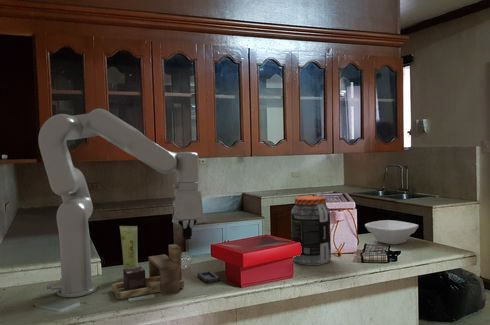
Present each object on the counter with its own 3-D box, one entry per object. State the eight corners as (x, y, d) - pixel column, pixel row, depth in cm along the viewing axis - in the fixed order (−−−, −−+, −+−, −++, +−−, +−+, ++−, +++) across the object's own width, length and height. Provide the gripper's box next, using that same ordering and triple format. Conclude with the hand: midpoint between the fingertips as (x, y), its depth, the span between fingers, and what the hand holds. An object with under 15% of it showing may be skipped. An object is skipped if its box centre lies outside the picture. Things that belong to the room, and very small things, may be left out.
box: (141, 286, 148) (140, 265, 147) (146, 291, 142) (145, 270, 142) (123, 290, 145) (122, 268, 144) (128, 295, 139) (127, 273, 139)
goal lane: (129, 302, 133) (129, 300, 133) (119, 286, 148) (119, 284, 148) (154, 297, 136) (154, 295, 136) (142, 282, 152) (142, 280, 152)
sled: (117, 299, 134) (115, 258, 134) (111, 289, 144) (110, 251, 144) (184, 286, 144) (182, 249, 144) (174, 278, 154) (173, 242, 153)
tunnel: (161, 295, 138) (160, 268, 138) (149, 281, 153) (148, 256, 152) (179, 292, 141) (178, 265, 140) (165, 278, 155) (164, 254, 155)
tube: (123, 281, 154) (121, 227, 153) (121, 277, 158) (119, 225, 157) (139, 278, 156) (137, 226, 155) (137, 275, 161) (134, 223, 160)
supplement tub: (339, 263, 168) (337, 198, 167) (304, 268, 163) (302, 201, 161) (318, 253, 183) (316, 194, 182) (285, 258, 177) (283, 196, 176)
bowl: (359, 242, 202) (359, 224, 202) (387, 235, 213) (387, 219, 213) (395, 250, 185) (395, 231, 184) (424, 243, 196) (424, 225, 196)
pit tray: (206, 283, 149) (206, 279, 149) (197, 276, 157) (197, 273, 157) (219, 280, 151) (219, 277, 151) (210, 274, 159) (210, 270, 159)
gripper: (169, 188, 143) (169, 242, 143) (211, 187, 149) (210, 239, 150) (163, 186, 150) (163, 238, 150) (203, 185, 156) (203, 235, 157)
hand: (187, 238), depth 150 cm, fingers closed
